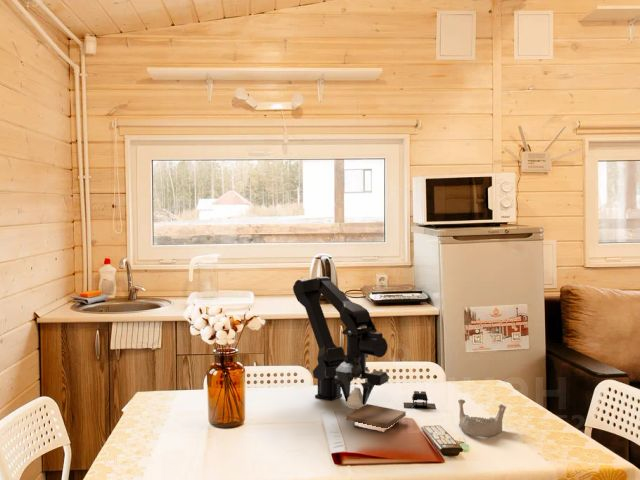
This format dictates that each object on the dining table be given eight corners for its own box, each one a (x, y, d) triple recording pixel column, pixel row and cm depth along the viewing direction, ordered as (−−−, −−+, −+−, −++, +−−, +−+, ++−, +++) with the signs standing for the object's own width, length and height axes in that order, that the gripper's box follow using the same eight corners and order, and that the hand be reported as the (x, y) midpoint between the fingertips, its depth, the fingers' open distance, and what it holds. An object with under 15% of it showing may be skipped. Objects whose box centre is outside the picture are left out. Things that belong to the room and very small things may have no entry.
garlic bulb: (369, 387, 183) (356, 390, 179) (369, 407, 183) (356, 411, 180) (356, 383, 187) (343, 386, 183) (355, 402, 187) (343, 406, 184)
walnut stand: (346, 426, 167) (346, 415, 167) (367, 414, 177) (367, 403, 177) (386, 435, 160) (386, 424, 160) (405, 422, 170) (405, 411, 170)
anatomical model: (450, 432, 160) (453, 393, 163) (456, 436, 169) (458, 399, 173) (502, 439, 155) (504, 399, 159) (505, 442, 165) (506, 404, 168)
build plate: (439, 404, 188) (439, 390, 188) (441, 412, 181) (442, 397, 180) (398, 403, 189) (398, 388, 189) (399, 410, 182) (399, 395, 182)
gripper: (315, 352, 181) (314, 404, 182) (371, 360, 171) (371, 416, 172) (334, 345, 190) (334, 395, 191) (389, 353, 180) (388, 405, 181)
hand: (355, 402), depth 183 cm, fingers closed on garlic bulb, 5 cm apart
